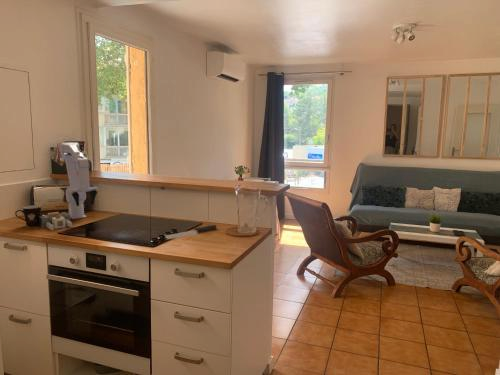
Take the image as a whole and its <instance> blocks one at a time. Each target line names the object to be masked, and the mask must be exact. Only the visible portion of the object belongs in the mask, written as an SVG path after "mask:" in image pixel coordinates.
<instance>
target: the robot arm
mask: <svg viewBox="0 0 500 375" xmlns="http://www.w3.org/2000/svg"><path fill="white" fill-rule="evenodd" d="M58 149H59V153H60V154H59V155H60V158H61V159H63V160H64V162H65V167H66V173H67V177H68V182H69V186H68V187H67V188H66V190H65V198H66V201H67V203H68V214H70V219H72V220H76V219H81V218H87V215H85V211H84V209H85V208H84V203H85V200H87V192H89V196H90V205H94V204H95V203H94V202H95V198H96V196H97V194H98V191H99V187H98V186H91V187H90V185H91V184H90V172H89V169H90V168H91V162H90V159H89V157H85V155H84V154H83V153H82V152H81V150H80V144H79V143H78V142H60V143H59V148H58Z"/></svg>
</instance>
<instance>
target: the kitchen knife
mask: <svg viewBox="0 0 500 375" xmlns="http://www.w3.org/2000/svg"><path fill="white" fill-rule="evenodd" d="M212 230H215V231H216V230H217V224H208V225H204V226H200V227H196V228H195V227H194V229H191V230H188V231H183V232H178V233H177V232H176V233H172V234H167V235H165V239H166V238H167V239H166V240H173V239H179V238H183V237H189V236H195V235H196V236H197V235H199V233H204V232H207V231H212Z"/></svg>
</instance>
